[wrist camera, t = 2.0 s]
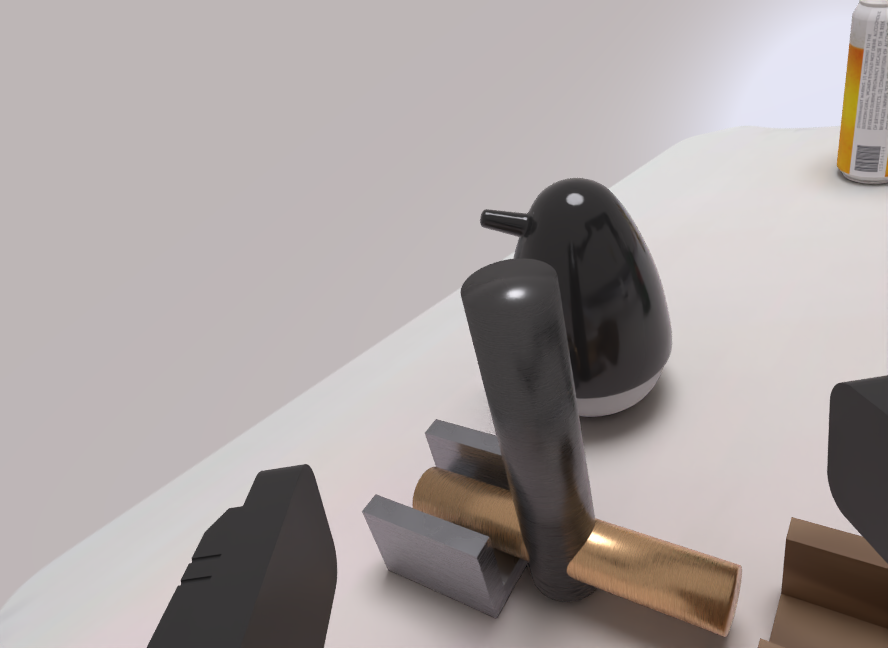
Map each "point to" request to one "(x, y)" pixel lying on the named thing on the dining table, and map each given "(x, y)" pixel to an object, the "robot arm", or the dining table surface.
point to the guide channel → (449, 529)
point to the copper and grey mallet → (558, 467)
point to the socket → (830, 591)
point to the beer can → (866, 97)
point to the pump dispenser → (597, 290)
